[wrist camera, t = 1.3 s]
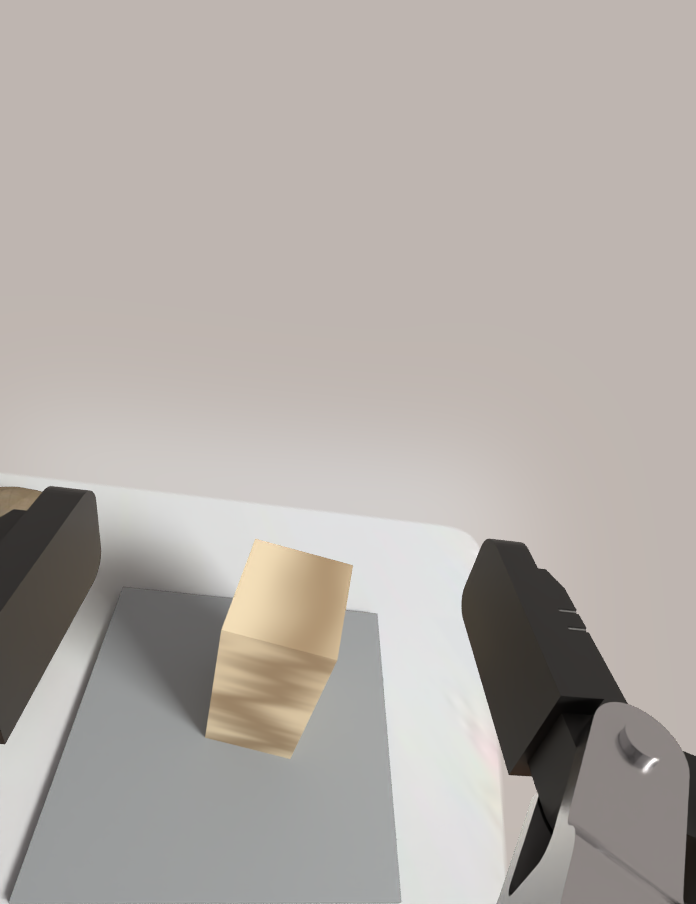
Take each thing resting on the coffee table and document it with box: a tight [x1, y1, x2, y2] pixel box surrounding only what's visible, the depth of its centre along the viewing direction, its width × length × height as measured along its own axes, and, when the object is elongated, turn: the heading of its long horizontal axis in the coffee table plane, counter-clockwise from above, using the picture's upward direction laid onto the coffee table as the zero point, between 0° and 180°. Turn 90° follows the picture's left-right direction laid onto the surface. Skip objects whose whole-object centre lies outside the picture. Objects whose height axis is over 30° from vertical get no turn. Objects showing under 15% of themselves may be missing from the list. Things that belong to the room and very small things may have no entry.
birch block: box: [205, 539, 353, 759], centre depth 26 cm, size 5×5×12 cm
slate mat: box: [9, 587, 401, 904], centre depth 29 cm, size 18×16×1 cm
